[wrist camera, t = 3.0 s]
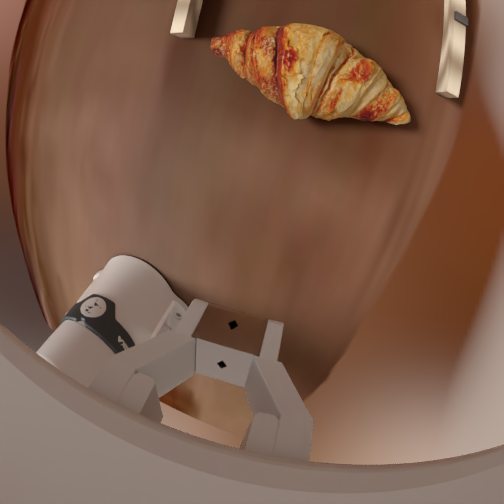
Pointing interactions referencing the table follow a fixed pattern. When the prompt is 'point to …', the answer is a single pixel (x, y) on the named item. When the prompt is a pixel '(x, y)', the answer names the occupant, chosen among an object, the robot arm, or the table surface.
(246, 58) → the croissant
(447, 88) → the frame
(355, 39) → the table surface
